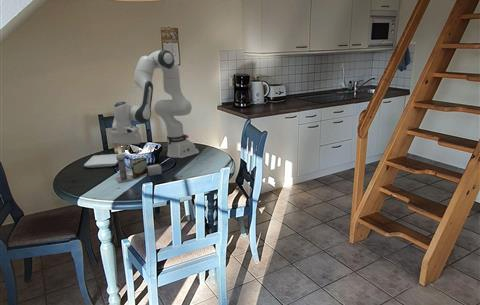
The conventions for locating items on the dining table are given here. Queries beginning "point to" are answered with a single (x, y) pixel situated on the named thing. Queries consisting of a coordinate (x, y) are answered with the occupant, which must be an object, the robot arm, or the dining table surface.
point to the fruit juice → (115, 127)
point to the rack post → (123, 173)
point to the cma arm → (120, 153)
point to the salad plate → (102, 161)
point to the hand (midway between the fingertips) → (127, 149)
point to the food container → (138, 167)
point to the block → (153, 170)
